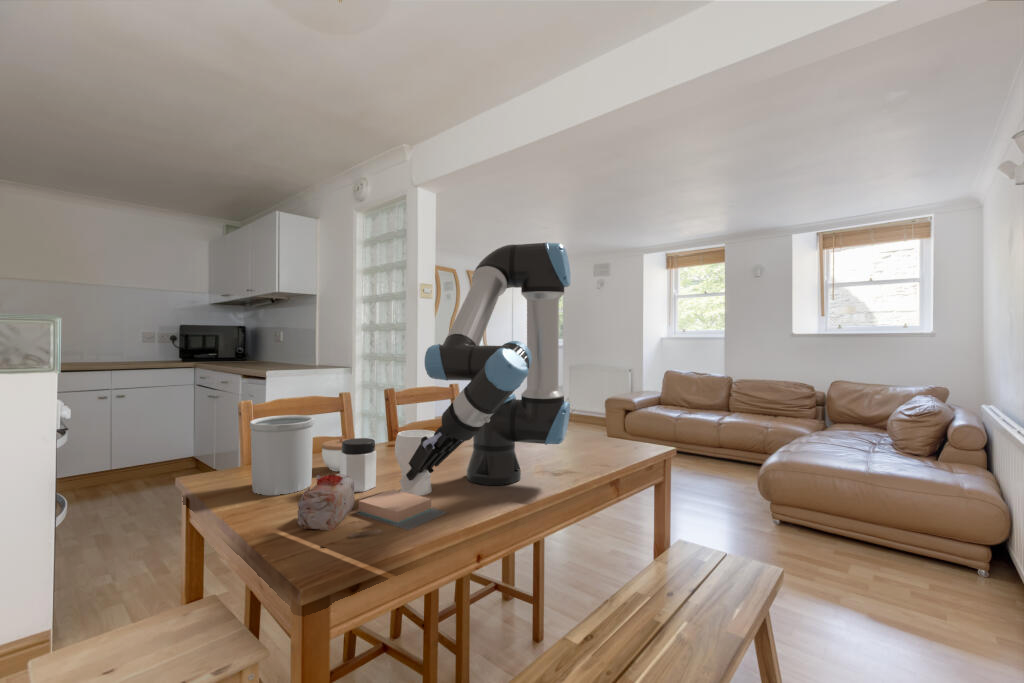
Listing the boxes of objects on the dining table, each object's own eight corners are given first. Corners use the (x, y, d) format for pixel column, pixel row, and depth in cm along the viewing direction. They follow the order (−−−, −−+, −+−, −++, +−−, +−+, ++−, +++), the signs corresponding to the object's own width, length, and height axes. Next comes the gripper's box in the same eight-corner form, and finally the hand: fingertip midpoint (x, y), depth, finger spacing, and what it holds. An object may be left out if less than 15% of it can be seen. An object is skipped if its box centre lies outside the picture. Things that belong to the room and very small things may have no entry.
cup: (413, 503, 110) (414, 439, 110) (385, 494, 116) (386, 433, 116) (446, 492, 118) (447, 432, 118) (418, 484, 124) (418, 427, 125)
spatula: (380, 532, 93) (380, 527, 93) (382, 539, 89) (382, 533, 89) (320, 541, 88) (320, 536, 88) (320, 549, 85) (320, 543, 85)
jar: (380, 489, 120) (380, 442, 120) (348, 495, 115) (349, 446, 115) (366, 480, 127) (367, 436, 127) (336, 486, 122) (336, 440, 122)
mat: (448, 514, 102) (448, 512, 102) (407, 532, 92) (408, 529, 92) (396, 500, 111) (396, 498, 111) (354, 516, 101) (354, 513, 101)
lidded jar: (316, 473, 133) (316, 440, 134) (327, 464, 144) (328, 433, 144) (354, 473, 134) (355, 440, 134) (363, 464, 145) (363, 433, 145)
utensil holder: (284, 499, 111) (285, 425, 112) (234, 493, 115) (235, 422, 116) (325, 482, 126) (326, 416, 126) (279, 477, 130) (280, 413, 130)
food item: (335, 535, 91) (336, 484, 91) (294, 535, 91) (294, 484, 91) (357, 510, 105) (358, 466, 105) (321, 510, 105) (322, 466, 105)
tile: (431, 498, 104) (393, 489, 110) (397, 512, 95) (358, 500, 102) (431, 509, 104) (393, 499, 110) (397, 523, 95) (358, 512, 102)
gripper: (456, 434, 85) (390, 509, 94) (497, 424, 96) (434, 492, 105) (434, 402, 88) (372, 478, 96) (476, 396, 99) (417, 465, 107)
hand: (405, 485), depth 100 cm, fingers closed
